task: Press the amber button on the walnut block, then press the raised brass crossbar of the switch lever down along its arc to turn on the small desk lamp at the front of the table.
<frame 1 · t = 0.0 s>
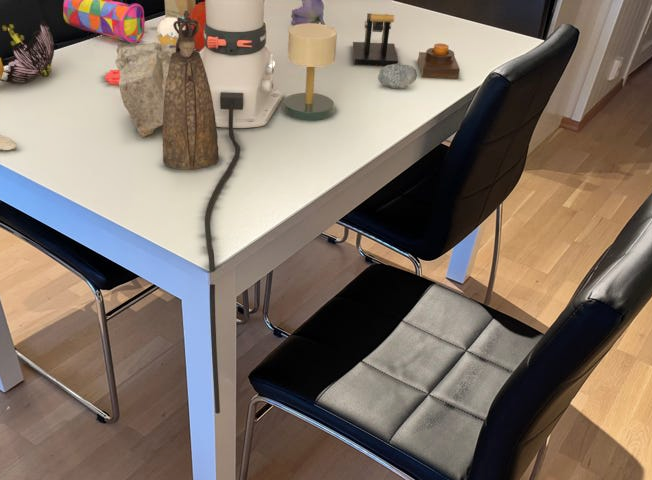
lamp: (308, 110, 137), on the table
ornament: (169, 50, 158), on the table
statue: (191, 163, 119), on the table
stone: (134, 72, 131), point 7 cm above the table, touching arm
button block: (437, 70, 156), on the table
witch figurine: (144, 22, 169), point 2 cm above the table
building block: (124, 84, 143), on the table
switch lever: (379, 22, 152), point 9 cm above the table, hinge at 25.0°
grey rock: (397, 89, 147), on the table
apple: (212, 51, 160), on the table
cosmetic box: (182, 41, 165), on the table
pencil case: (89, 11, 160), point 6 cm above the table
switch bracket: (374, 56, 161), on the table
flower: (311, 30, 175), on the table
decorative flower: (24, 64, 135), point 6 cm above the table, touching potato
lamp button: (440, 49, 153), point 4 cm above the table, slide at 0.1 cm
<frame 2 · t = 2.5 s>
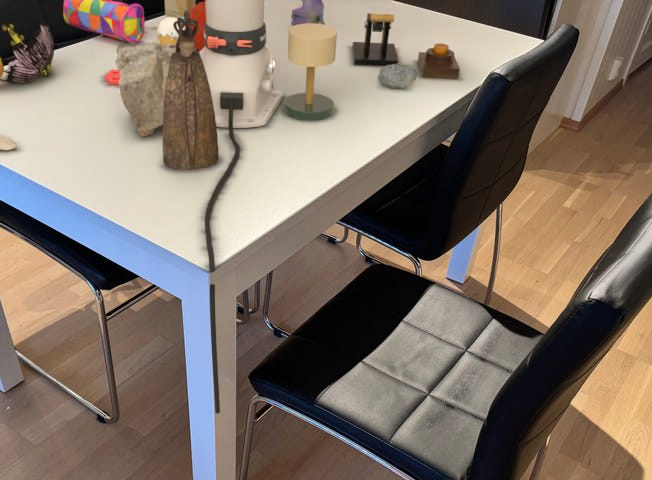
nothing on the table moved.
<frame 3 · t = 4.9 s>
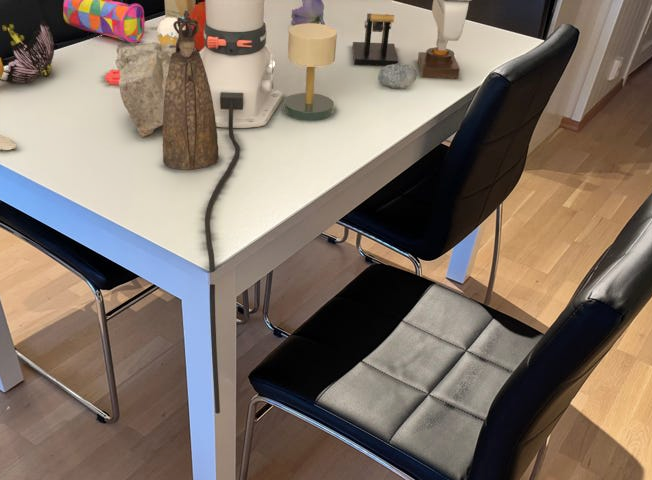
hand: (440, 48, 153), 5 cm above the table, tool pointing down, fingers closed, pressing on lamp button
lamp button: (440, 53, 153), point 4 cm above the table, slide at -0.7 cm, touching gripper
everything else where it was.
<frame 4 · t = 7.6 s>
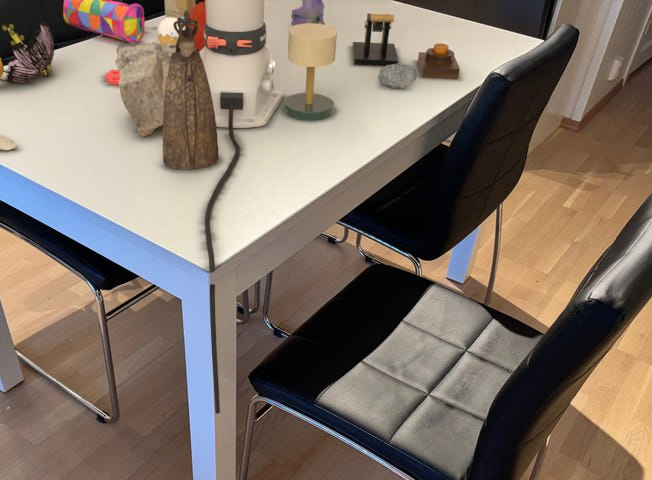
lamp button: (440, 49, 153), point 4 cm above the table, slide at 0.1 cm
everything else where it was.
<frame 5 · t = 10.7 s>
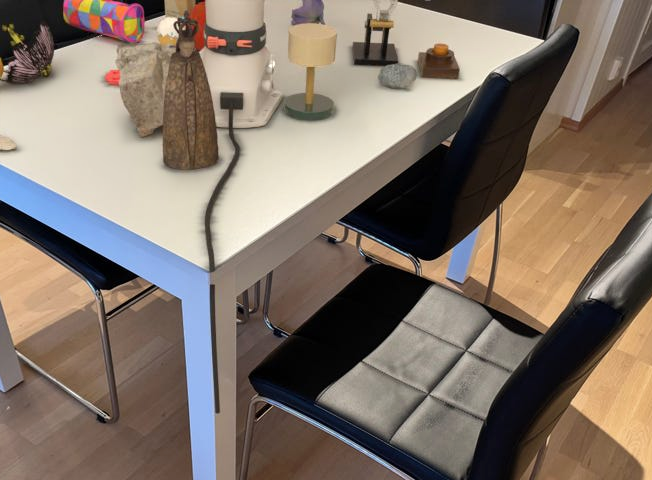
hand: (383, 20, 148), 11 cm above the table, tool pointing down, fingers closed, pressing on switch lever
switch lever: (379, 24, 153), point 8 cm above the table, hinge at 17.9°, touching gripper
everything else where it was.
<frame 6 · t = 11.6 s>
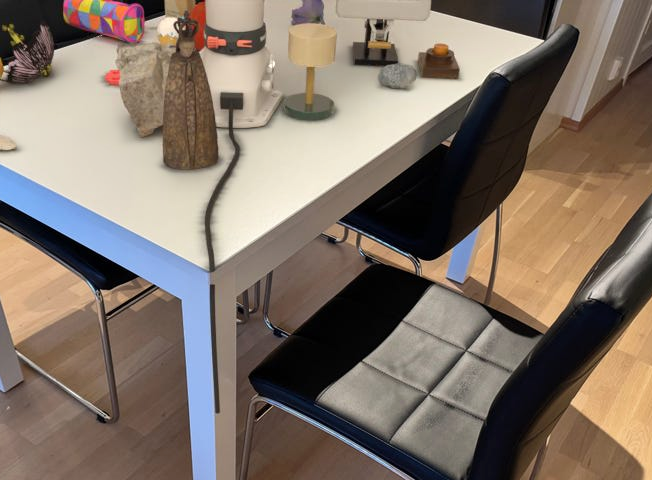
hand: (379, 39, 151), 6 cm above the table, tool pointing down, fingers closed, pressing on switch lever
switch lever: (378, 34, 154), point 6 cm above the table, hinge at -9.9°, touching gripper
everything else where it was.
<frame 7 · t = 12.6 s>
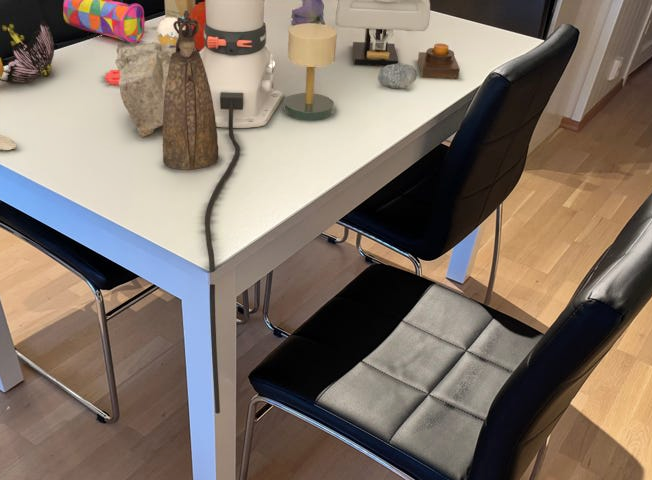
hand: (378, 49, 152), 4 cm above the table, tool pointing down, fingers closed
switch lever: (377, 38, 155), point 5 cm above the table, hinge at -25.5°
everything else where it was.
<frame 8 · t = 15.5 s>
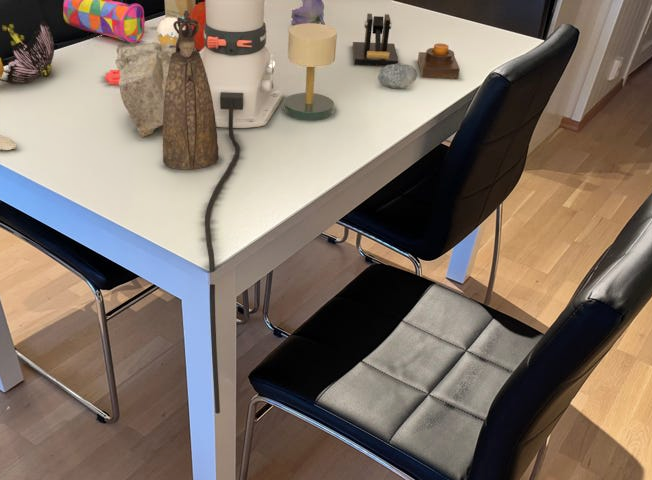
nothing on the table moved.
at the end: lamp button pushed in 1.1 cm at the most during the clip, back to where it started at the end; switch lever at -26° (first picture: +25°); lamp moved 0.0 cm from its start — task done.
